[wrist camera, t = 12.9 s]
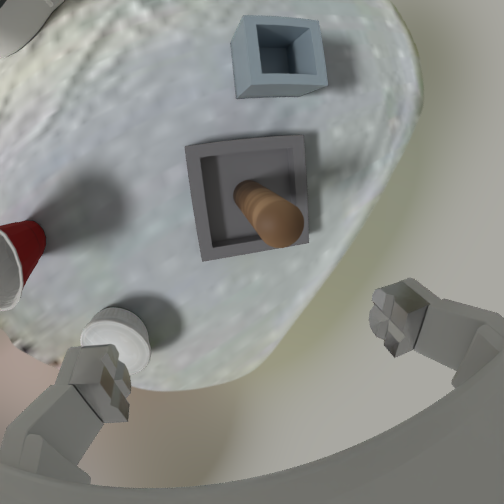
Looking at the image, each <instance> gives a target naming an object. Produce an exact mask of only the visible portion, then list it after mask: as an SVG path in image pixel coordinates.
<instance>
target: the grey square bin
mask: <svg viewBox="0 0 504 504" xmlns="http://www.w3.org/2000/svg"><path fill="white" fill-rule="evenodd" d="M230 44H231V54H232V64H233V73H234V83H235V93H236V99H244V98H263V97H299V96H301V95H304V94H307V93H309V92H312V91H315V90H318V89H320V88H323V87H326V86H328V79H327V71H326V64H325V57H324V50H323V44H322V37H321V32H320V26H319V21H316V20H309V19H301V18H291V17H278V16H250V15H243V17H242V19H241V21H240V23H239V25H238V28H237V30H236V32H235V34H234V36H233V38H232V40H231V43H230Z"/></svg>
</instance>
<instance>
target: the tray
mask: <svg viewBox="0 0 504 504" xmlns="http://www.w3.org/2000/svg"><path fill="white" fill-rule="evenodd" d="M185 154H186V161H187V169H188V176H189V183H190V190H191V197H192V204H193V210H194V216H195V223H196V229H197V235H198V240H199V246H200V252H201V258H202V262H203V261H209V260H215V259H220V258H226V257H232V256H237V255H243V254H249V253H255V252H260V251H266V250H272V249H278V248H274V247H271V246H269V245H267V244H266V243H265V242H264V241H263V240H262V239H261V237H260V236H259V234H258V233H257V232H256V230H255V229H254V228H253V226H252V225H251V224H250V222H249V221H248V220H247V218H246V217H245V216H244V214H243V213H242V212H241V210H240V209H239V208H238V206H237V205H236V204H235V202H234V199H233V192H234V189H235V187H236V186H237V185H238V184H239V183H240V182H242V181H245V180H253V181H255V182H257V183H259V184H261V185H262V186H264V187H266V188H267V189H269V190H271V191H272V192H274V193H276V194H277V195H279V196H281V197H282V198H284V199H286V200H287V201H289V202H291V203H292V204H294V205H295V206H297V207H298V208H299V209H300V211H301V212H302V214H303V217H304V229H303V232H302V234H301V236H300V237H299V239H298V240H297V241H296V242H295V243H293V244H292V245H290V246H295V245H300V244H306V243H309V226H308V198H307V178H306V161H305V147H304V135H289V136H272V137H259V138H248V139H238V140H229V141H220V142H212V143H205V144H198V145H191V146H185ZM288 247H289V246H288Z"/></svg>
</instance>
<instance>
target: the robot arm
mask: <svg viewBox="0 0 504 504" xmlns="http://www.w3.org/2000/svg"><path fill="white" fill-rule="evenodd" d="M64 1H65V0H0V58H4V57H7V56H9V55H11V54H13V53H15V52H16V51H18V50H19V49H20V48H22V47H23V46H24V45H25V44H26V43H27V42H28V41H29V40H31V38H32V37H33V36H34V35H35V34H36V33H37V32H38V31H39V29H40V28H41V27H42V26H43V24H44V23H45V21H46V20H47V18H48V17H49V15H50V14H51V13H52V12H53V11H54V10H55V9H56V8H57V7H58V6H59V5H60V4H61V3H63V2H64ZM372 301H373V303H374V304H375V305H374V306H373V308H372V309H371V311H370V314H369V322H370V327H371V329H372V331H373V333H374V334H375V335H376V337H378V338H381V339H383V340H384V346H385V347H386V348H387V349H388V351H390V353H391V354H392V355H393V356H394V357H398V356H400V355H402V354H404V353H407V352H409V351H411V350H413V349H414V351H416V352H418V353H420V354H422V355H424V356H426V357H428V358H431V359H433V360H435V361H437V362H439V363H441V364H443V365H445V366H447V367H449V368H451V369H454V370H456V371H457V372H456V374H455V376H454V377H453V379H452V385H453V386H454V387H455V389H454V390H453V391H451V392H450V393H449V394H447V395H446V396H444V397H443V398H441V399H440V400H438V401H437V402H435V403H434V404H432V405H431V406H429V407H428V408H426V409H424V410H423V411H421V412H419V413H418V414H416V415H414V416H413V417H411V418H409V419H407V420H406V421H404V422H402V423H400V424H398V425H397V426H395V427H393V428H391V429H389V430H387V431H385V432H383V433H381V434H379V435H377V436H375V437H373V438H371V439H368V440H366V441H364V442H362V443H360V444H357V445H355V446H353V447H350V448H348V449H345V450H343V451H340V452H338V453H335V454H333V455H330V456H328V457H324V458H322V459H319V460H316V461H313V462H310V463H307V464H303V465H300V466H297V467H294V468H290V469H286V470H283V471H279V472H275V473H272V474H267V475H263V476H258V477H253V478H249V479H243V480H238V481H232V482H226V483H219V484H211V485H203V486H192V487H177V488H123V487H110V486H99V485H91V484H90V481H91V478H90V476H89V475H88V474H87V473H86V472H84V471H83V470H81V469H80V468H79V467H78V466H77V465H78V463H79V461H80V460H81V458H82V457H83V455H84V454H85V452H86V450H87V449H88V448H89V446H90V444H91V443H92V441H93V440H94V438H95V437H96V435H97V434H98V432H99V431H100V429H101V428H102V426H103V425H104V424H103V423H114V422H128V417H129V403H128V401H127V400H126V398H127V397H128V395H129V394H130V393H131V380H130V375H129V372H128V369H127V367H126V365H125V364H124V363H122V362H121V361H119V360H118V358H119V352H118V350H117V349H116V347H115V345H113V344H104V345H91V346H79V347H71V348H69V349H68V350H67V353H66V355H65V358H64V360H63V363H62V366H61V368H60V371H59V374H58V377H57V380H56V382H55V385H50V386H49V387H48V388H47V389H46V390H45V391H44V392H43V393H42V394H41V395H40V396H39V397H38V398H36V399H35V400H34V401H33V402H32V403H31V404H30V405H29V406H28V407H27V408H26V409H25V410H24V411H23V412H22V413H21V414H20V415H19V416H18V417H17V418H16V419H15V420H14V421H13V422H12V423H11V424H10V425H9V426H8V427H7V428H6V431H5V434H4V438H3V441H2V445H1V448H0V504H504V318H503V317H502V316H501V315H500V314H498V313H495V312H492V311H488V310H484V309H481V308H477V307H473V306H470V305H466V304H462V303H459V302H455V301H451V300H448V299H442V300H441V299H440V298H439V297H437V296H436V295H435V294H433V293H432V292H431V291H430V290H428V289H427V288H426V287H424V286H423V285H421V284H420V283H419V282H418V281H416V280H415V279H413V278H407V279H405V280H402V281H399V282H397V283H394V284H391V285H388V286H385V287H382V288H378V289H376V290H375V291H374V293H373V296H372Z"/></svg>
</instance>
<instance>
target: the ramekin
mask: <svg viewBox="0 0 504 504" xmlns="http://www.w3.org/2000/svg"><path fill="white" fill-rule="evenodd" d="M80 342H81V346H91V345H104V344H113V345H115V347H116V349H117V350H118V352H119V358H118V360H119V361H121V362H122V363H124V364H125V365H126V367H127V369H128V372H129V375H132V374H136V373H138V372H140V371H142V370H143V369H144V368H145V367H146V366H147V365H148V363H149V361H150V357H151V347H150V343H149V337H148V331H147V329H146V327H145V325H144V323H143V322H142V321H141V320H140V318H139V317H138V316H136V315H135V314H134V313H132V312H130V311H128V310H125V309H122V308H115V307H114V308H113V307H111V308H106V309H103V310H101V311H100V312H98V313H97V314H96V315H95V316H94V317H93V319H92V320H91V321H90V322H89V323H88V324H87V325H86V326H85V327H84V329H83V331H82V333H81V338H80Z"/></svg>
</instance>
